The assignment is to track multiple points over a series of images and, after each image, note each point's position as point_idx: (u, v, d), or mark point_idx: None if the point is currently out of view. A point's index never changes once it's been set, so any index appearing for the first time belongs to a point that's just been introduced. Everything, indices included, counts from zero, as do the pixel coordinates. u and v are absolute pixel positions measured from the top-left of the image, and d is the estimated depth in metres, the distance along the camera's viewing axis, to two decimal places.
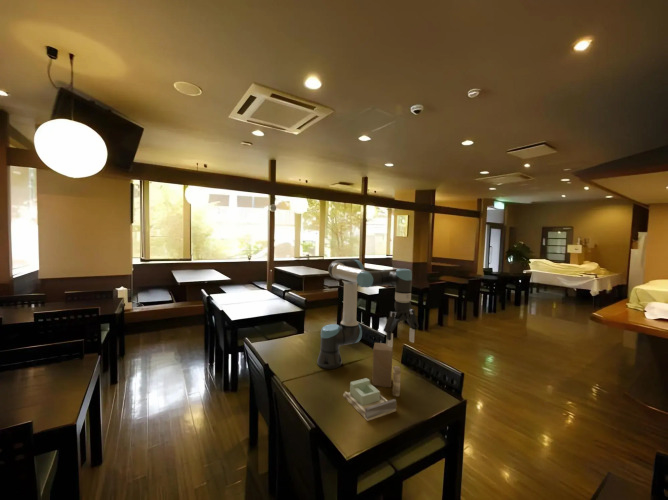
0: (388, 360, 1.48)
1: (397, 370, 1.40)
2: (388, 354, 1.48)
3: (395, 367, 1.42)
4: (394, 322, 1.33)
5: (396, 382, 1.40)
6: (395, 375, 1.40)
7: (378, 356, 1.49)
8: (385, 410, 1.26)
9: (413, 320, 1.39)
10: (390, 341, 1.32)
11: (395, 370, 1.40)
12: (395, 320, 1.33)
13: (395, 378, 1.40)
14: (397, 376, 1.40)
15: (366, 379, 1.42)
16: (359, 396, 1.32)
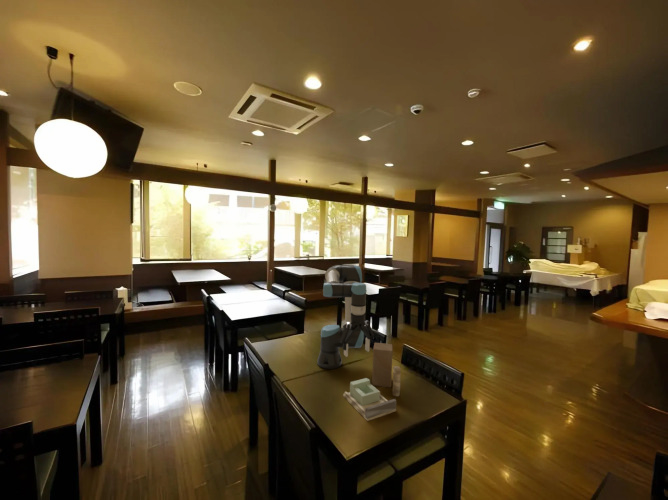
0: (388, 360, 1.48)
1: (397, 370, 1.40)
2: (388, 354, 1.48)
3: (395, 367, 1.42)
4: (349, 333, 1.43)
5: (396, 382, 1.40)
6: (395, 375, 1.40)
7: (378, 356, 1.49)
8: (385, 410, 1.26)
9: (368, 330, 1.49)
10: (345, 351, 1.42)
11: (395, 370, 1.40)
12: (350, 331, 1.43)
13: (395, 378, 1.40)
14: (397, 376, 1.40)
15: (366, 379, 1.42)
16: (359, 396, 1.32)
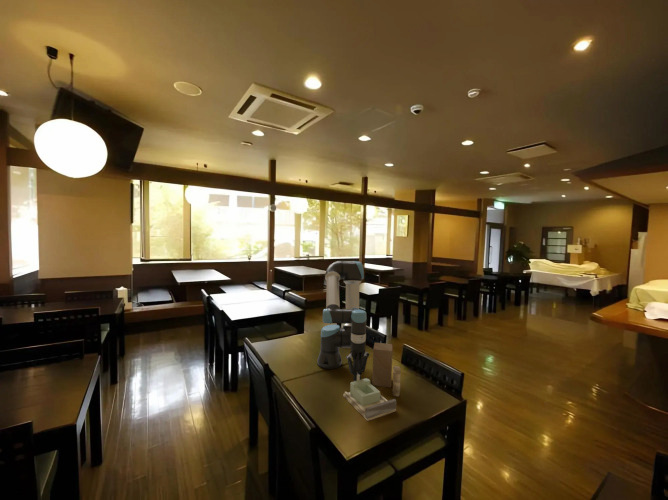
0: (388, 360, 1.48)
1: (397, 370, 1.40)
2: (388, 354, 1.48)
3: (395, 367, 1.42)
4: (354, 364, 1.41)
5: (396, 382, 1.40)
6: (395, 375, 1.40)
7: (378, 356, 1.49)
8: (385, 410, 1.26)
9: (363, 363, 1.44)
10: None
11: (395, 370, 1.40)
12: (354, 361, 1.41)
13: (395, 378, 1.40)
14: (397, 376, 1.40)
15: (366, 379, 1.42)
16: (360, 396, 1.31)
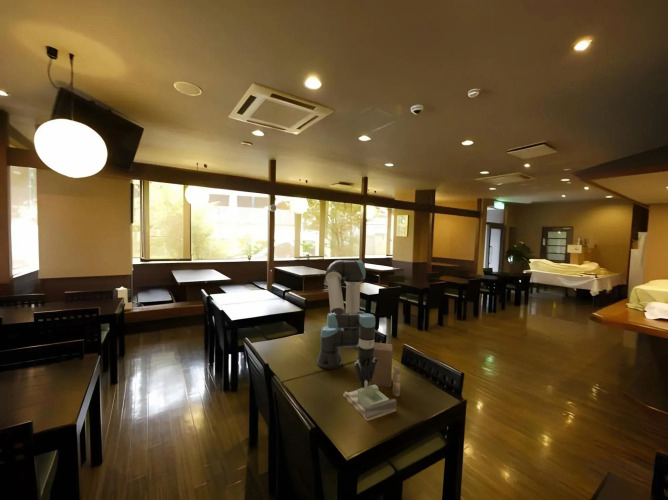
0: (388, 360, 1.48)
1: (397, 370, 1.40)
2: (388, 354, 1.48)
3: (395, 367, 1.42)
4: (362, 370, 1.35)
5: (396, 382, 1.40)
6: (395, 375, 1.40)
7: (378, 356, 1.49)
8: (385, 410, 1.26)
9: (370, 369, 1.38)
10: None
11: (395, 370, 1.40)
12: (362, 368, 1.35)
13: (395, 378, 1.40)
14: (397, 376, 1.40)
15: (374, 386, 1.36)
16: (368, 404, 1.25)
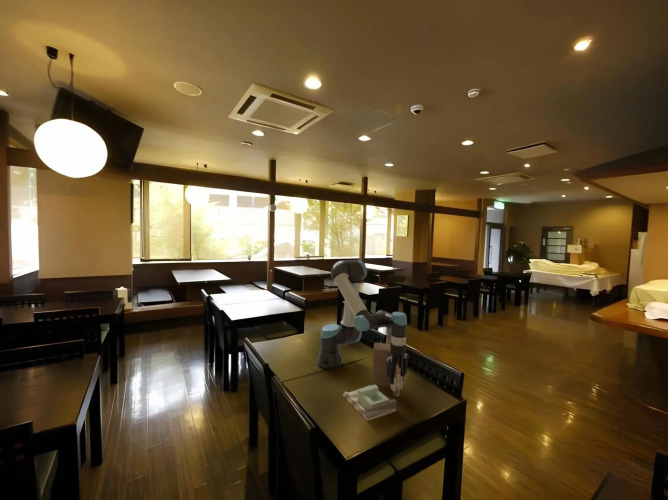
0: None
1: (397, 370, 1.40)
2: (388, 354, 1.48)
3: None
4: (393, 366, 1.40)
5: (396, 382, 1.40)
6: (395, 375, 1.40)
7: (378, 356, 1.49)
8: (385, 410, 1.26)
9: (404, 365, 1.43)
10: (393, 385, 1.40)
11: None
12: (393, 364, 1.40)
13: None
14: (397, 376, 1.40)
15: (374, 386, 1.36)
16: (368, 404, 1.25)
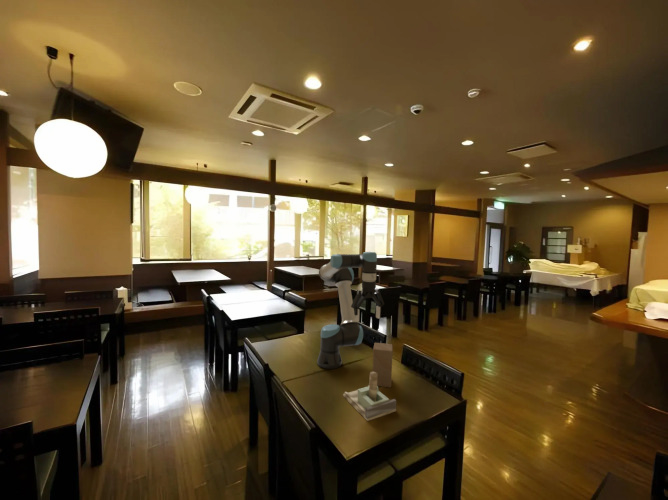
0: (388, 360, 1.48)
1: (373, 376, 1.29)
2: (388, 354, 1.48)
3: (371, 373, 1.30)
4: (361, 299, 1.49)
5: (372, 390, 1.29)
6: (371, 382, 1.29)
7: (378, 356, 1.49)
8: (385, 410, 1.26)
9: (379, 298, 1.55)
10: (357, 316, 1.48)
11: (371, 376, 1.29)
12: (362, 297, 1.49)
13: (371, 385, 1.29)
14: (373, 383, 1.29)
15: None
16: (368, 404, 1.25)
